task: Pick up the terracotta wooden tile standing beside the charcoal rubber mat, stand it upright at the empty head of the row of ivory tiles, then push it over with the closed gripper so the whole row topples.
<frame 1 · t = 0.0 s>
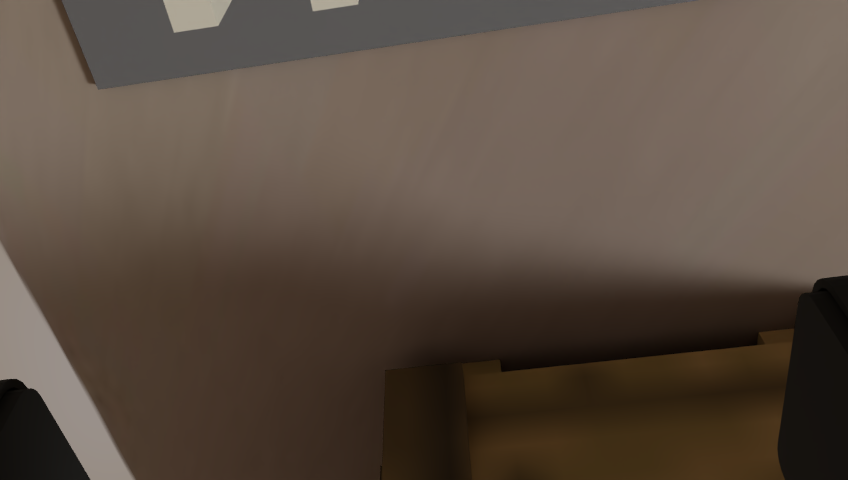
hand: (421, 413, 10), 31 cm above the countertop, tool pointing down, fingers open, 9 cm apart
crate: (625, 474, 59), on the countertop
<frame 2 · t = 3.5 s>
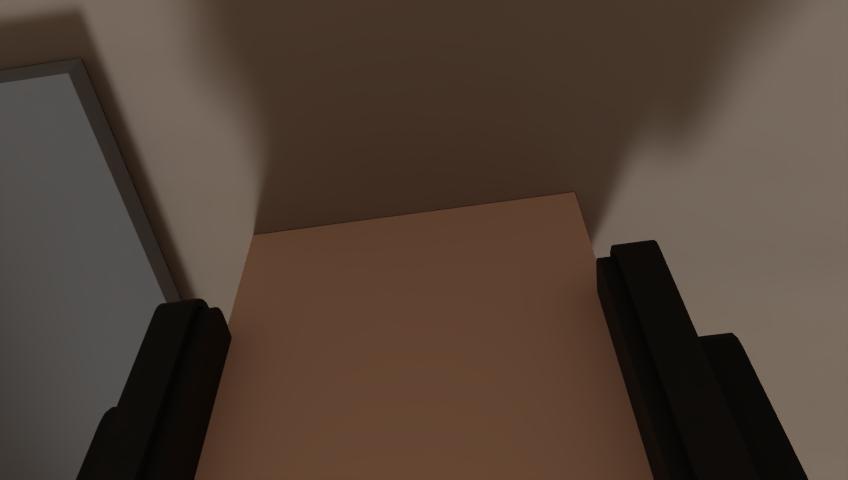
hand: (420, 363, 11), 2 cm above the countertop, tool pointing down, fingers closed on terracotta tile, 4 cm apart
terracotta tile: (419, 255, 13), on the countertop, touching gripper
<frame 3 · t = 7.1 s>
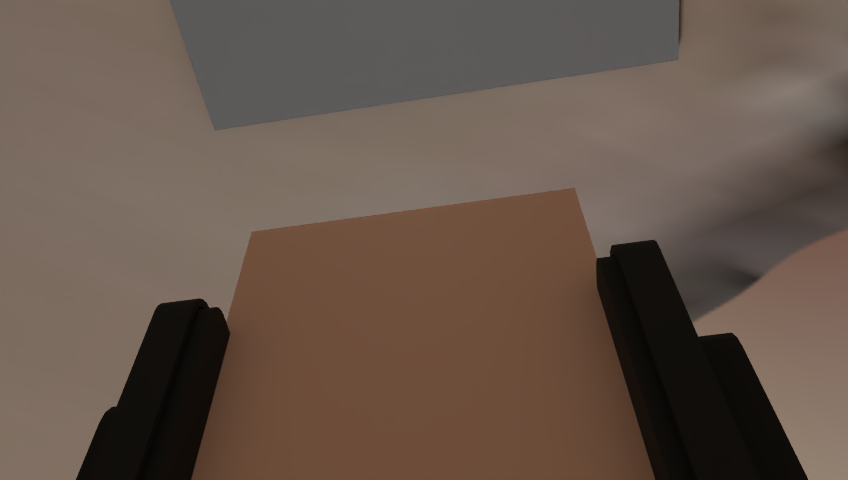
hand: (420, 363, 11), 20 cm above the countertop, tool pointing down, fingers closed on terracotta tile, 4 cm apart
terracotta tile: (418, 252, 13), point 17 cm above the countertop, touching gripper
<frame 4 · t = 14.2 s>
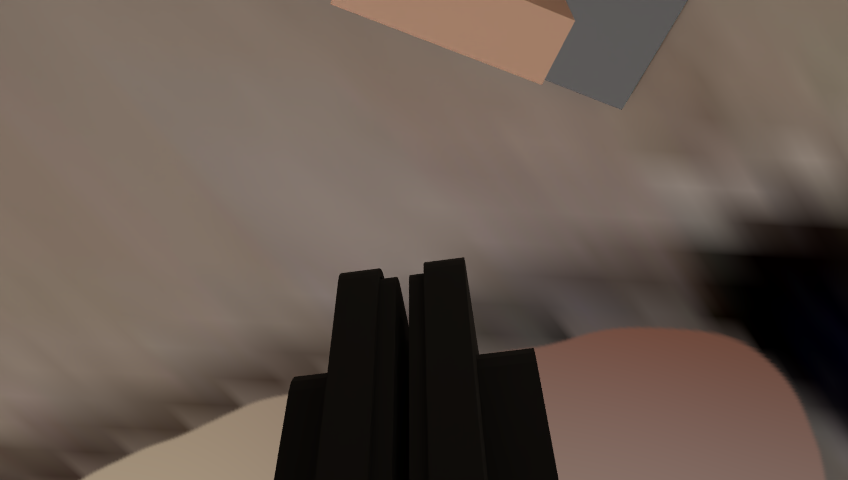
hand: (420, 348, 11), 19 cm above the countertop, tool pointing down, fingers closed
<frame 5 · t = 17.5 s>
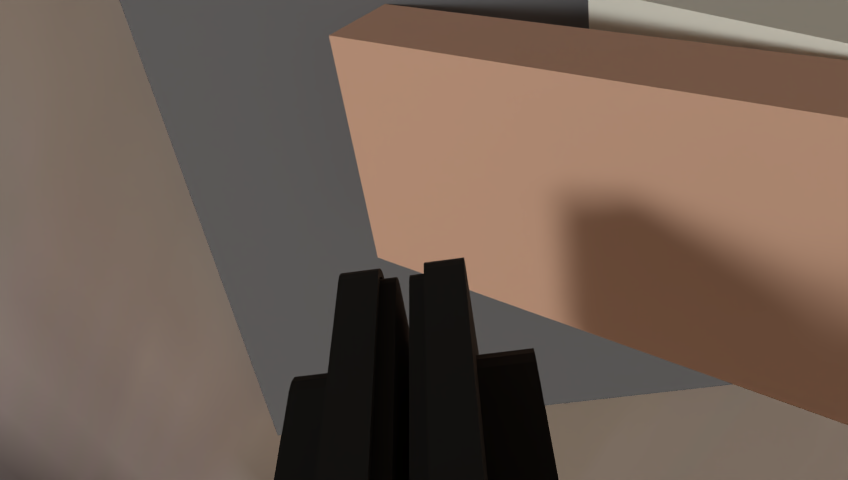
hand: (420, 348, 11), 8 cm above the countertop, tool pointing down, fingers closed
terracotta tile: (381, 137, 17), point 1 cm above the countertop, tilted 52°, touching ivory tile A
ivory tile A: (618, 99, 16), point 1 cm above the countertop, tilted 38°, touching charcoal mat, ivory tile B, terracotta tile
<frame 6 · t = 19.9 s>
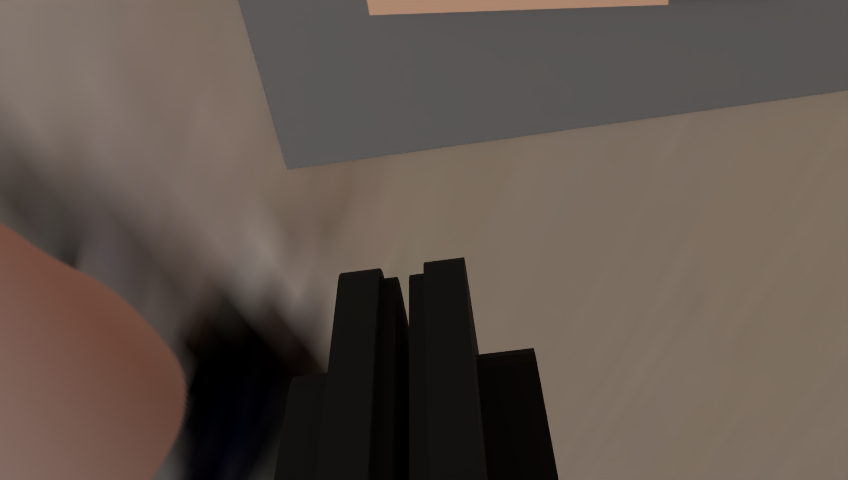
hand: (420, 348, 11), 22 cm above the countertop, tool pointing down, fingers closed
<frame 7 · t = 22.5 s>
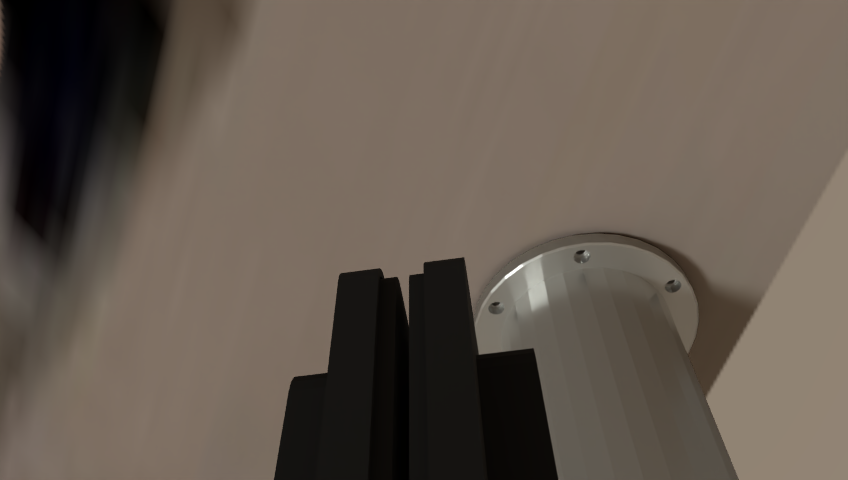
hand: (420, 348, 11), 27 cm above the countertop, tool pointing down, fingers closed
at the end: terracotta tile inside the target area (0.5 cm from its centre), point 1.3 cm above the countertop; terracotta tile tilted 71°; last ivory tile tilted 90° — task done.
